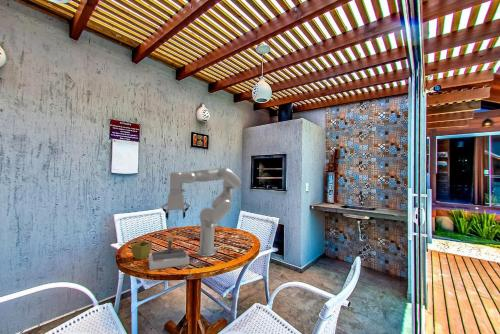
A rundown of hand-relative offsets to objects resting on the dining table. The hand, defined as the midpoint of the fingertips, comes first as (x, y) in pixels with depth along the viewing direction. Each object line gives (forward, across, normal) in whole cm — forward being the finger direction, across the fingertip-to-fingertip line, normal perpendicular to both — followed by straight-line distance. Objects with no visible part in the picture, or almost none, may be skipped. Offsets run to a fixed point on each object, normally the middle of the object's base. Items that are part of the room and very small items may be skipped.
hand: (175, 218), depth 139 cm
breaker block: (+26, +4, +2) cm, 27 cm away
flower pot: (+26, +21, -10) cm, 35 cm away
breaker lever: (+22, +3, +2) cm, 22 cm away
